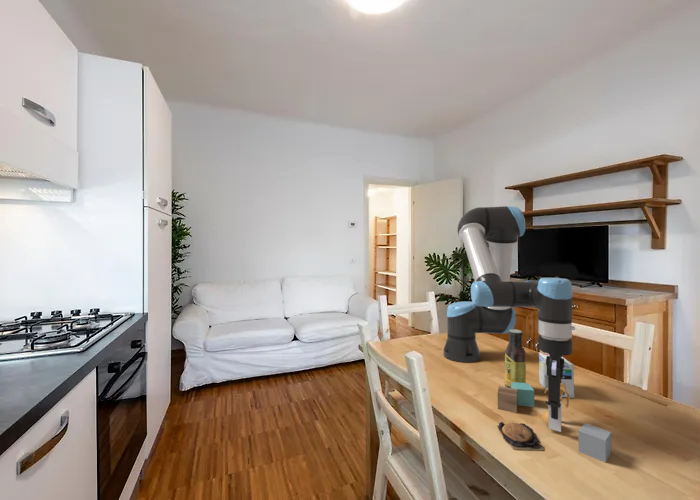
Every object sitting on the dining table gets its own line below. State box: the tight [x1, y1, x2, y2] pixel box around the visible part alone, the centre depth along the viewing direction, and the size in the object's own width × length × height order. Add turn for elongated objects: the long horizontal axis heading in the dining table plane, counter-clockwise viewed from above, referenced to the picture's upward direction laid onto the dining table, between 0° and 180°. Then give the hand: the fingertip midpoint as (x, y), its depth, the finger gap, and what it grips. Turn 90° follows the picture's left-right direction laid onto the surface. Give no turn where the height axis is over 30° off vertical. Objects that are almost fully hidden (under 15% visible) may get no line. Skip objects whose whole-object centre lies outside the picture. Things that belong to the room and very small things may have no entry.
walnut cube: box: [497, 385, 518, 414], centre depth 94 cm, size 5×5×5 cm
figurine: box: [542, 383, 570, 427], centre depth 83 cm, size 8×6×12 cm
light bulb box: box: [538, 352, 575, 399], centre depth 104 cm, size 11×7×11 cm, turn 168°
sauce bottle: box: [504, 328, 527, 388], centre depth 105 cm, size 7×6×20 cm
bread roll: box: [496, 421, 545, 452], centre depth 79 cm, size 11×8×4 cm
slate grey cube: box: [578, 422, 612, 463], centre depth 73 cm, size 5×5×5 cm
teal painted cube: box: [511, 382, 535, 408], centre depth 97 cm, size 5×5×5 cm
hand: (555, 423), depth 84 cm, fingers open, 6 cm apart
